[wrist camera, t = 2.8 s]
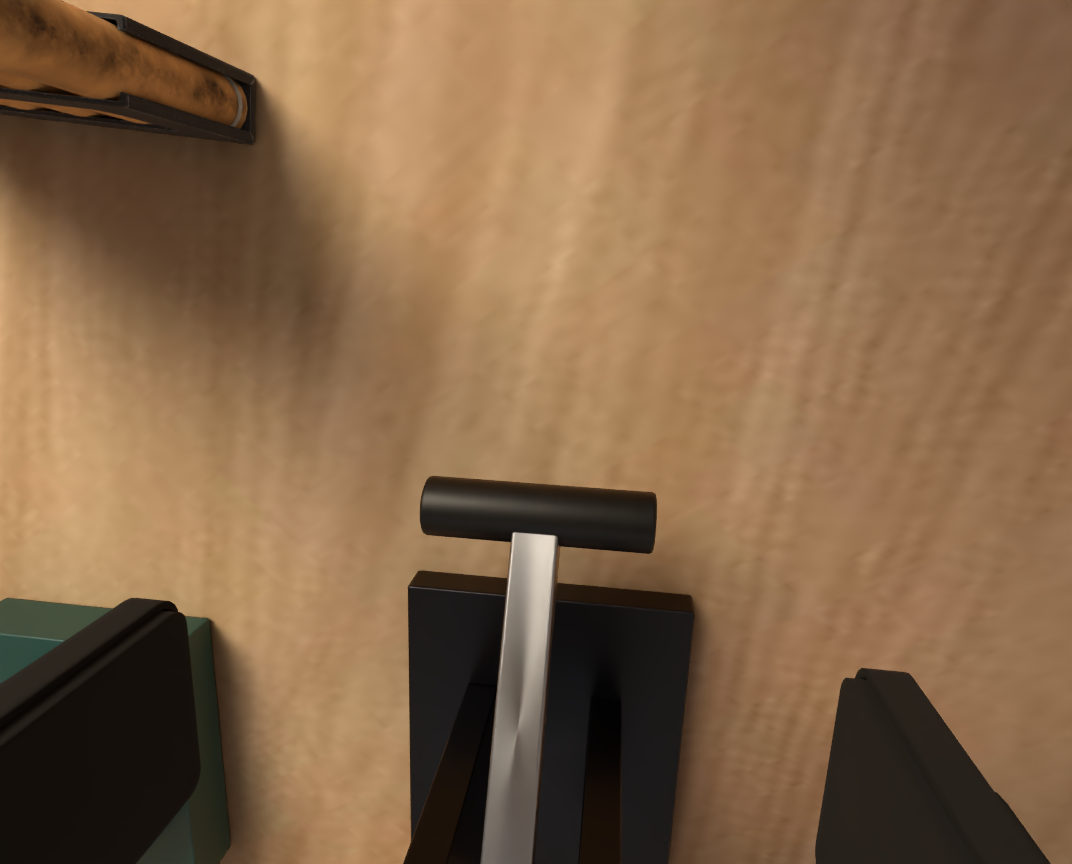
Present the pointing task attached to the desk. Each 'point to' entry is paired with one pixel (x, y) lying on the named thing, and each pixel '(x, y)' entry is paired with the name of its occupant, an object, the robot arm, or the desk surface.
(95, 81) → the ammunition clip
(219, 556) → the desk surface
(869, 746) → the robot arm
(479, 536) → the lever
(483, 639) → the stand
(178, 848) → the button block
